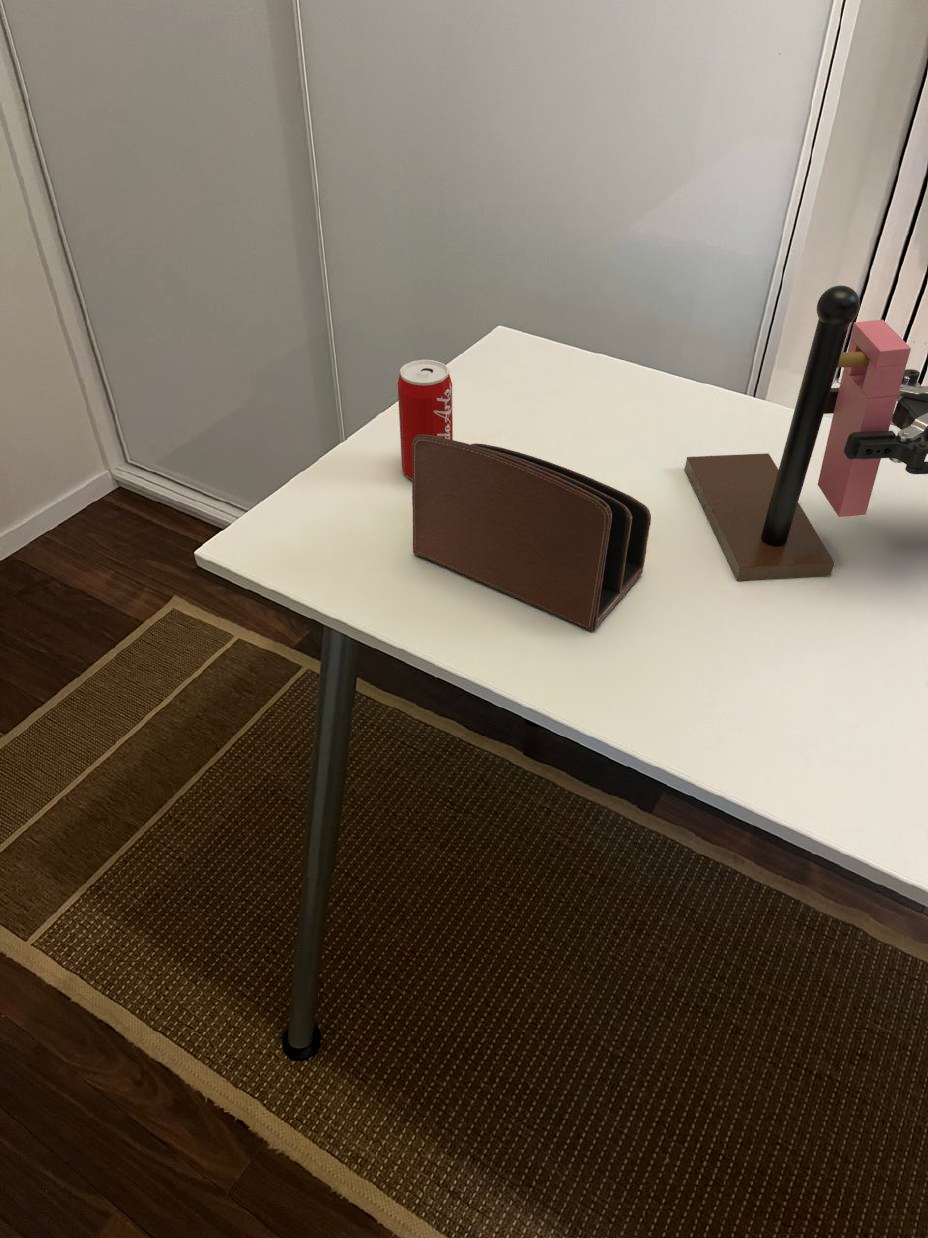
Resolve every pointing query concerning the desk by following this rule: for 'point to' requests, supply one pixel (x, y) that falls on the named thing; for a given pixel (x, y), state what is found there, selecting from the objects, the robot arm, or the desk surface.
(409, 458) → the soda can
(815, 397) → the stand
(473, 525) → the letter holder
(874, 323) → the pink block with hole
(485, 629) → the desk surface
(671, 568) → the desk surface
